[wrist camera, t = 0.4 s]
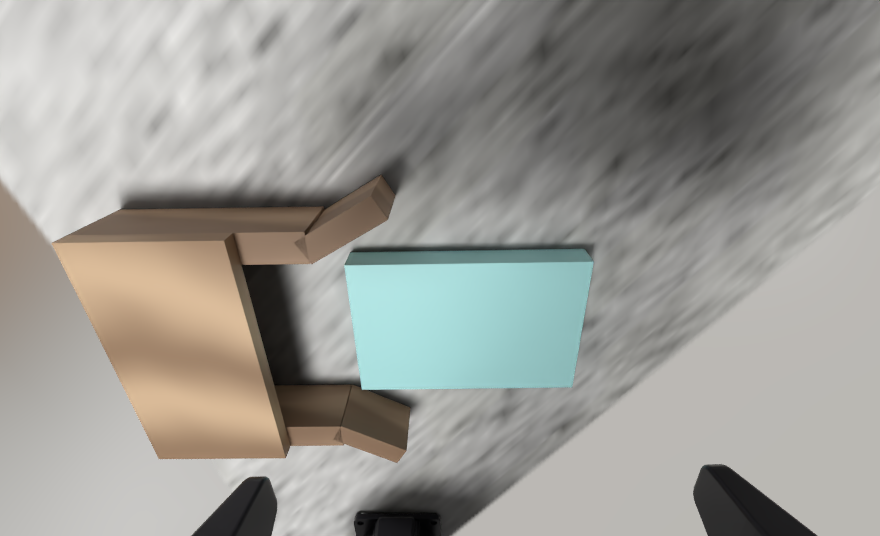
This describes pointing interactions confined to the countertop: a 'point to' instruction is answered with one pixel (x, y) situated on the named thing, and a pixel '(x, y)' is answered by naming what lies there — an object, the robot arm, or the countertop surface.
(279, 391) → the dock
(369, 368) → the panel
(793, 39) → the countertop surface
